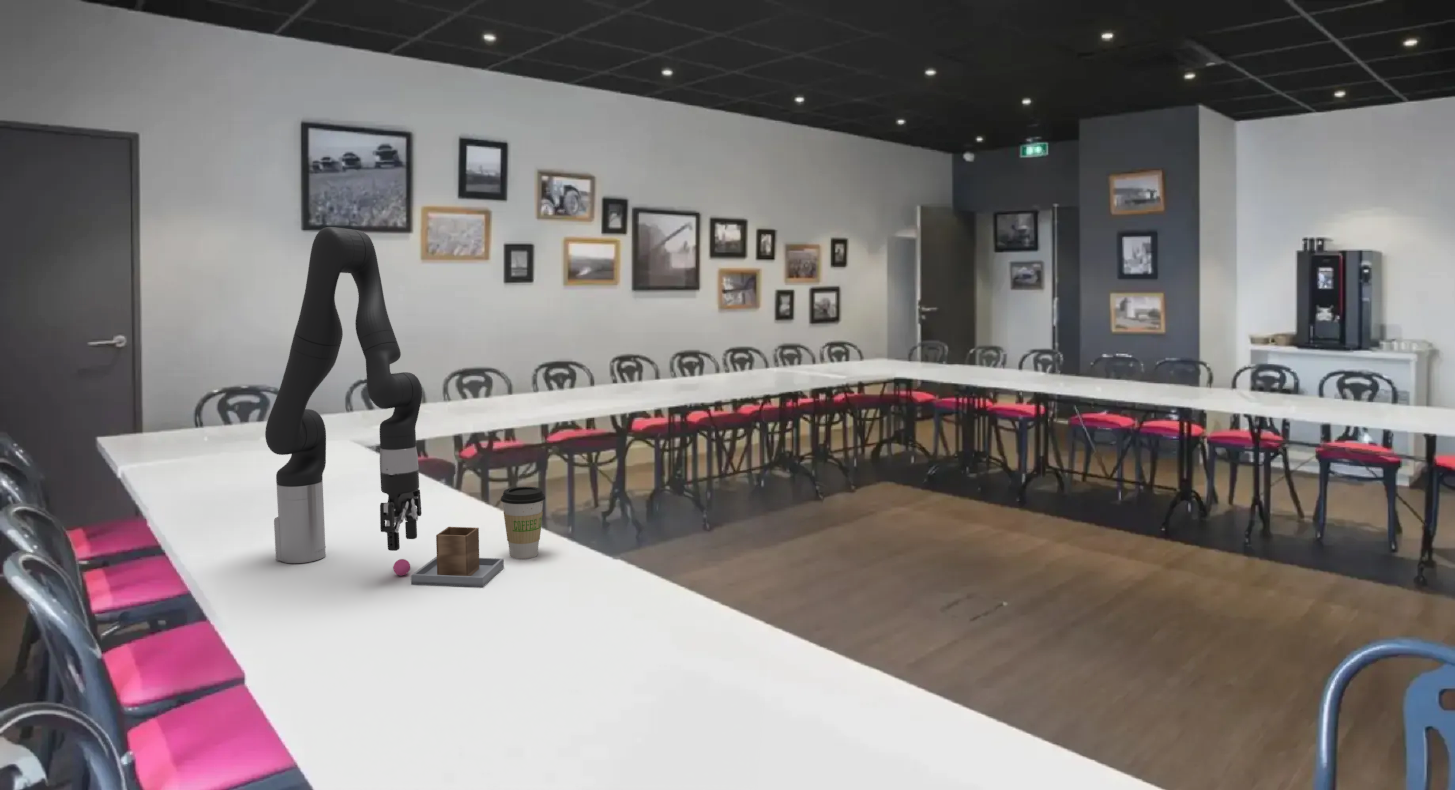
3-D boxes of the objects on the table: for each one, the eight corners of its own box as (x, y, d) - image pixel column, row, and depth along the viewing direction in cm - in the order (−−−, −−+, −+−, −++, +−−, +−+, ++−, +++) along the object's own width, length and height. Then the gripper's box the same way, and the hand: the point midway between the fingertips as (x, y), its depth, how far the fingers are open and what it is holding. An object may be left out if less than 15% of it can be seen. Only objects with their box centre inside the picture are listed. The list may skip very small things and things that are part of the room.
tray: (411, 584, 181) (411, 574, 180) (437, 565, 193) (436, 556, 193) (482, 587, 179) (482, 577, 179) (503, 567, 192) (503, 558, 192)
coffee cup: (535, 562, 196) (534, 496, 194) (494, 559, 198) (492, 494, 196) (552, 550, 205) (551, 487, 204) (513, 547, 207) (512, 484, 206)
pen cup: (437, 577, 183) (436, 535, 182) (449, 567, 190) (448, 526, 189) (468, 578, 183) (467, 536, 182) (479, 568, 189) (478, 527, 188)
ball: (390, 577, 185) (390, 561, 184) (397, 572, 188) (397, 556, 188) (406, 577, 185) (405, 562, 184) (413, 572, 188) (412, 557, 187)
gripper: (397, 462, 191) (400, 535, 193) (365, 475, 177) (369, 553, 179) (430, 462, 191) (433, 535, 192) (401, 475, 176) (405, 554, 178)
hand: (402, 544), depth 186 cm, fingers open, 8 cm apart
